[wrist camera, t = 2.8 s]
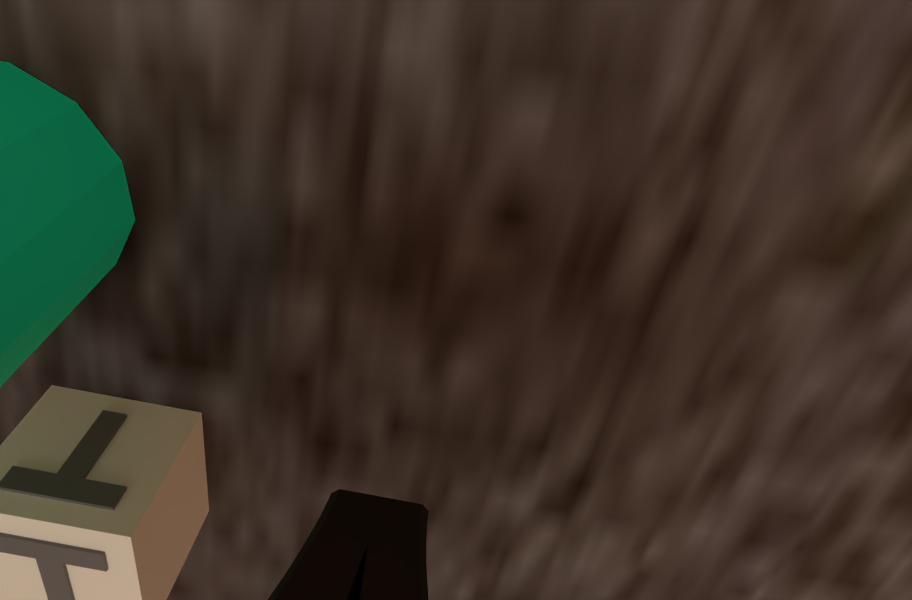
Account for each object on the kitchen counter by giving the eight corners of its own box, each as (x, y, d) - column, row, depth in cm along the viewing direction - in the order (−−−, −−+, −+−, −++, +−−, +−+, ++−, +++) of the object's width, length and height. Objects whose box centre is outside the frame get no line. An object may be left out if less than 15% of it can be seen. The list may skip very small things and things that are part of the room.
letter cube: (210, 508, 24) (146, 640, 20) (76, 484, 24) (-12, 610, 20) (202, 408, 21) (128, 538, 18) (52, 380, 21) (-54, 505, 18)
